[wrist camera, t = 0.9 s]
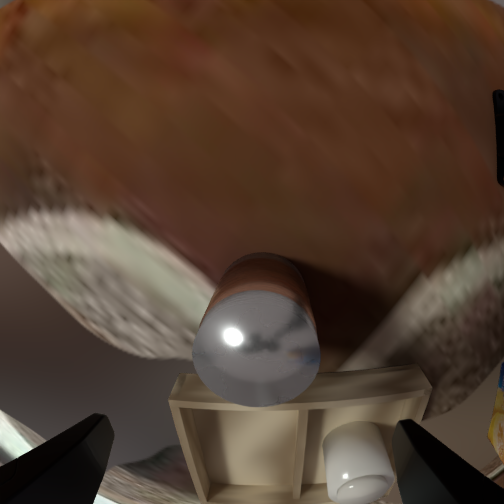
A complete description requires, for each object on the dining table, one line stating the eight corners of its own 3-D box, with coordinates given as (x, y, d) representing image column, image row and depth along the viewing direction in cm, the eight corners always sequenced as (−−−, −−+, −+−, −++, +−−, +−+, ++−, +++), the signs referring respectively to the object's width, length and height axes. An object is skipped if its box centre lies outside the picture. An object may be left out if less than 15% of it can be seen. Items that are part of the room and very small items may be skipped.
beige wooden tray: (417, 363, 20) (432, 387, 17) (381, 473, 24) (387, 496, 21) (179, 372, 21) (168, 399, 18) (206, 480, 25) (201, 504, 22)
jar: (385, 417, 21) (404, 470, 15) (374, 454, 22) (387, 503, 17) (325, 424, 21) (333, 481, 16) (319, 460, 22) (325, 512, 17)
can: (307, 250, 18) (324, 299, 12) (305, 331, 20) (317, 406, 13) (214, 252, 19) (182, 302, 12) (222, 333, 20) (200, 406, 13)
